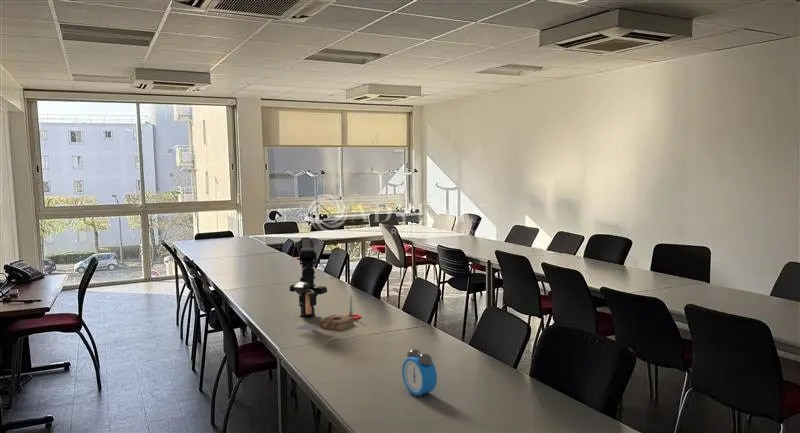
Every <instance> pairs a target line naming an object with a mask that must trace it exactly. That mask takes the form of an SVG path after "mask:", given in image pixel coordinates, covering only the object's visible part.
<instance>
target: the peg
mask: <svg viewBox="0 0 800 433" xmlns="http://www.w3.org/2000/svg"><path fill="white" fill-rule="evenodd" d="M309 294H310V293H305V306H306V314H312V307H311V306H310V296H309Z"/></svg>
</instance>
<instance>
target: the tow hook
mask: <svg viewBox="0 0 800 433" xmlns="http://www.w3.org/2000/svg"><path fill="white" fill-rule="evenodd" d="M349 297H350V298H349V310H348V311H349V314H346V315H345V316H350V317H353V321H358V319H361V318H362V315H360V314H356V313H353V295H352V294H350V296H349Z"/></svg>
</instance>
